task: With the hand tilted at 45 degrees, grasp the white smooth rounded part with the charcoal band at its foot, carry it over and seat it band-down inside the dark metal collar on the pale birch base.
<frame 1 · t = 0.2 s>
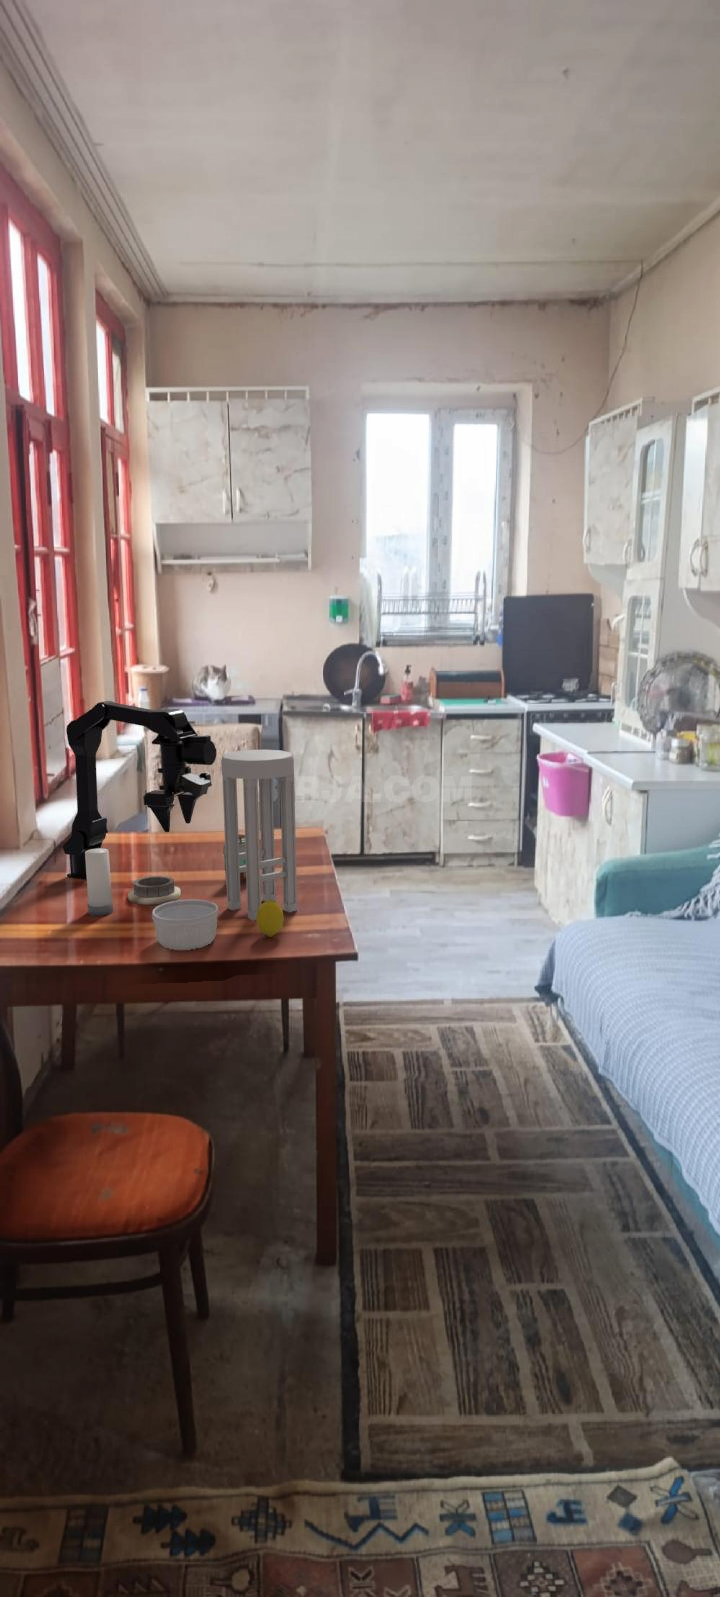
hand: (177, 827, 237), 15 cm above the table, tool pointing down, fingers open, 9 cm apart
lemon: (270, 938, 203), on the table
food container: (244, 880, 245), on the table
ramekin: (186, 942, 201), on the table
white smooth rounded part: (100, 912, 220), on the table
stool: (262, 910, 221), on the table
socket: (154, 896, 231), on the table
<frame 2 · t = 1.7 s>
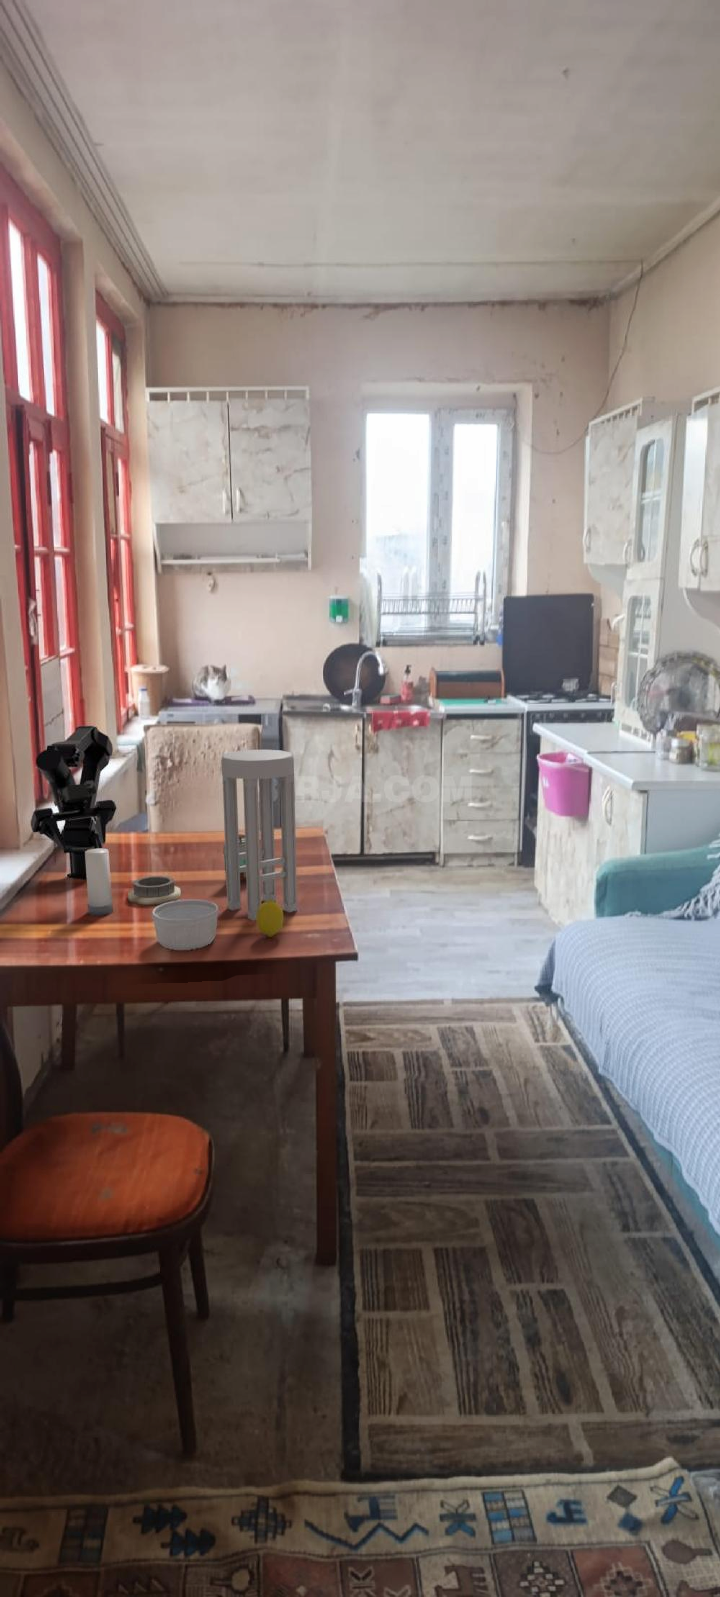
hand: (84, 846, 224), 13 cm above the table, tool tilted 45°, fingers open, 9 cm apart
nothing on the table moved.
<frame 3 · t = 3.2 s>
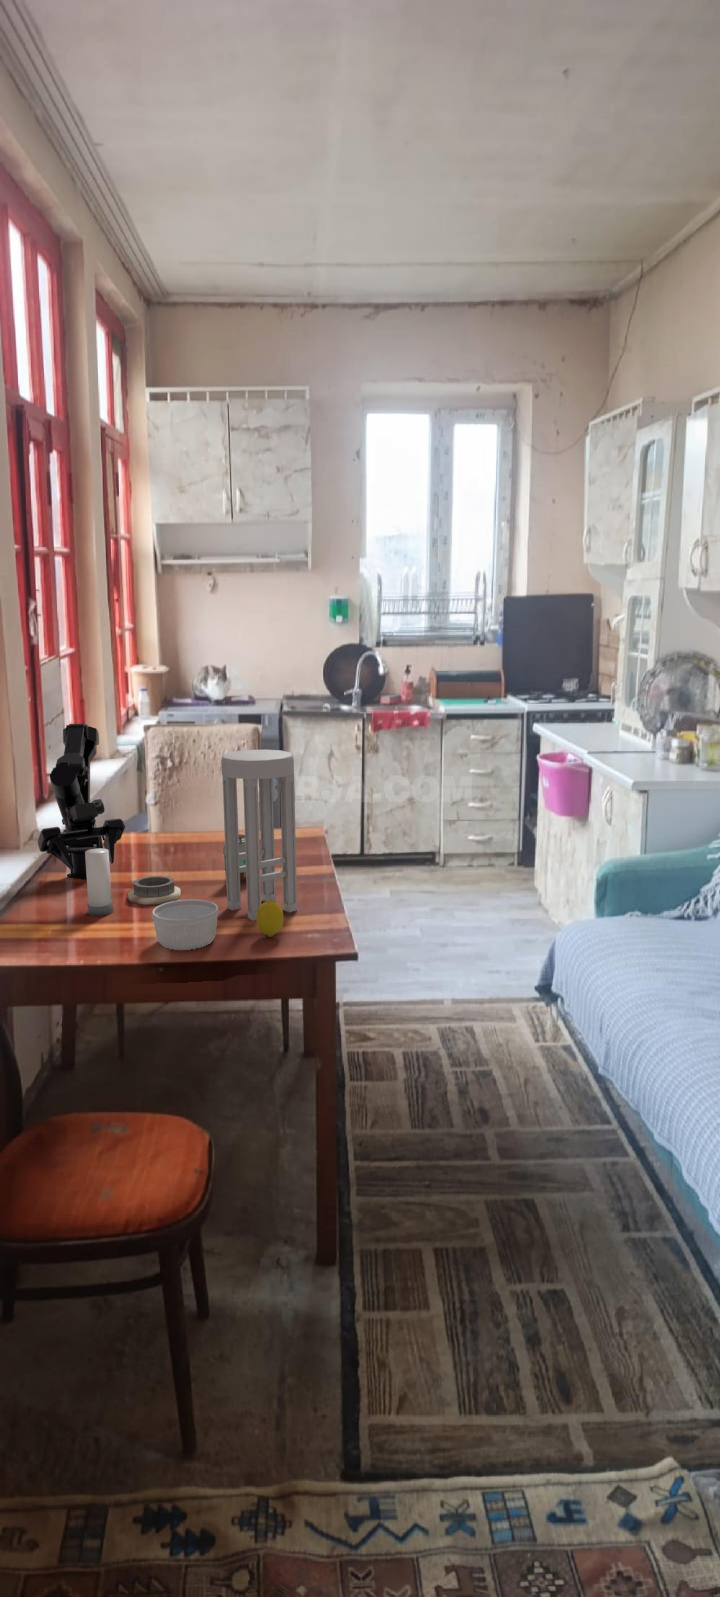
hand: (92, 865, 221), 10 cm above the table, tool tilted 45°, fingers open, 9 cm apart
nothing on the table moved.
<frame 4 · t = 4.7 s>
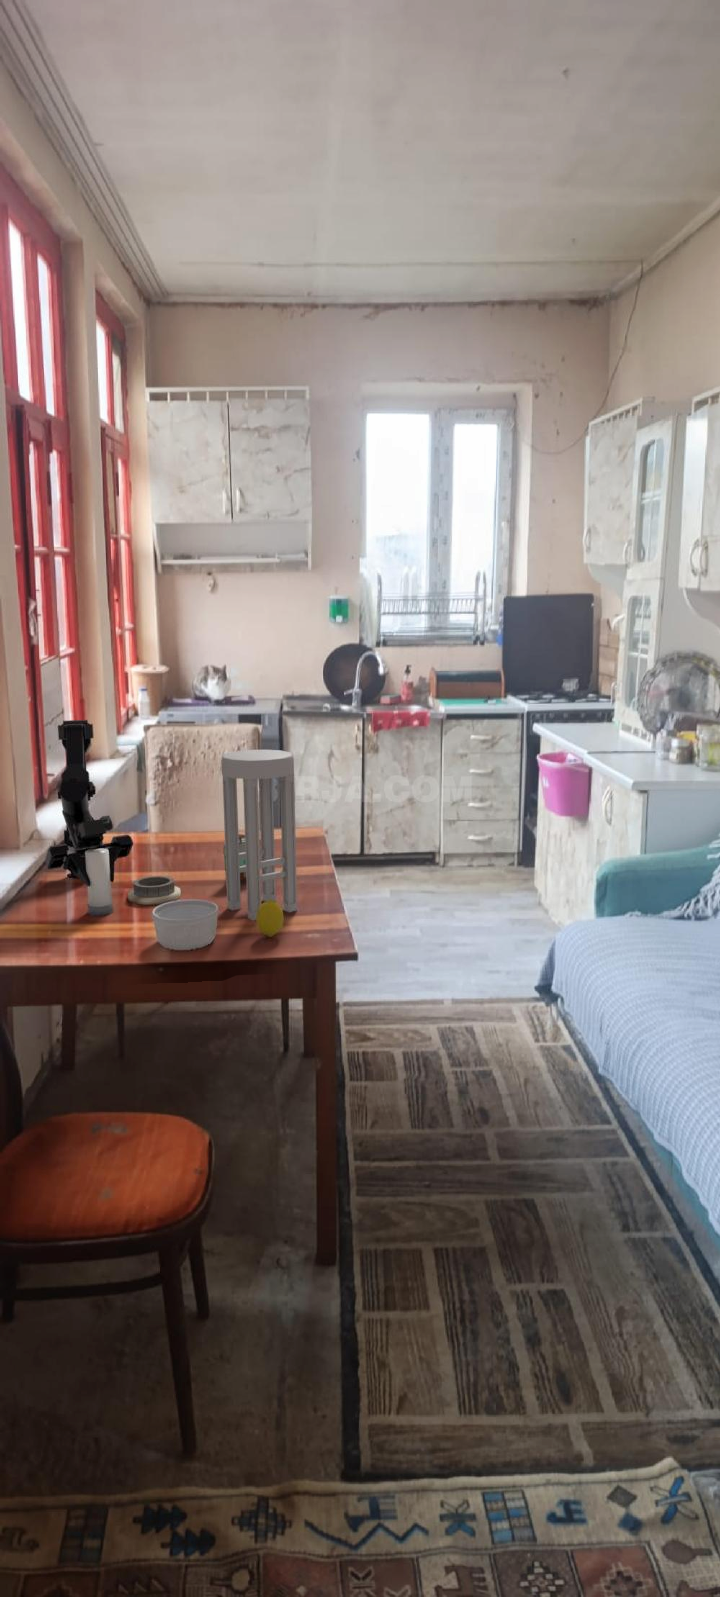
hand: (101, 883, 218), 7 cm above the table, tool tilted 45°, fingers closed on white smooth rounded part, 5 cm apart
white smooth rounded part: (100, 912, 220), on the table, touching gripper
everything else where it was.
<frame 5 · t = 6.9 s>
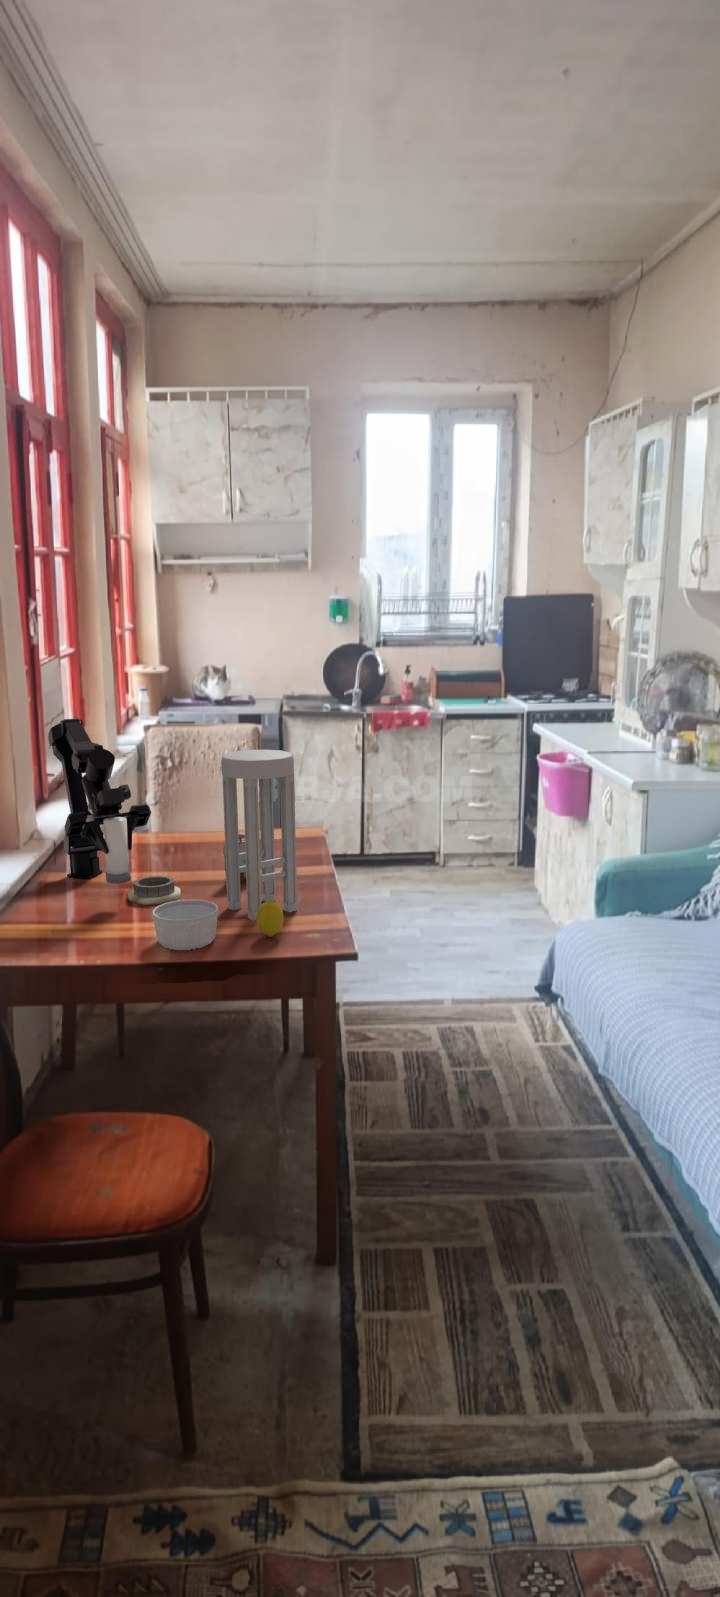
hand: (119, 851, 221), 13 cm above the table, tool tilted 45°, fingers closed on white smooth rounded part, 5 cm apart
white smooth rounded part: (118, 879, 223), point 6 cm above the table, touching gripper
everything else where it was.
when the fingers open (10 cm above the table, at t = 8.9 s): white smooth rounded part drops 1 cm, resting on socket.
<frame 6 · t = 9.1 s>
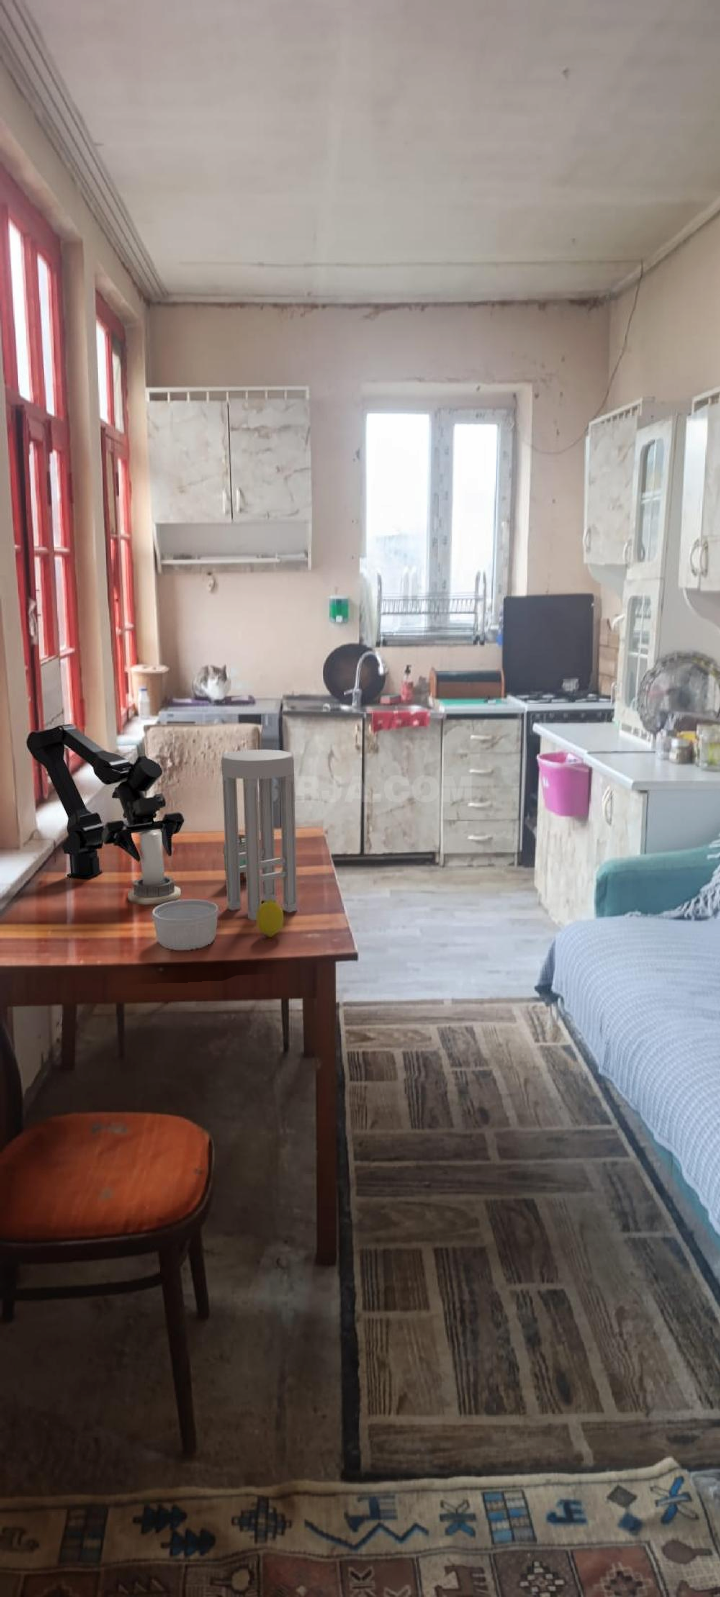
hand: (155, 857, 228), 10 cm above the table, tool tilted 45°, fingers open, 7 cm apart
white smooth rounded part: (154, 891, 231), point 1 cm above the table, touching socket
everything else where it was.
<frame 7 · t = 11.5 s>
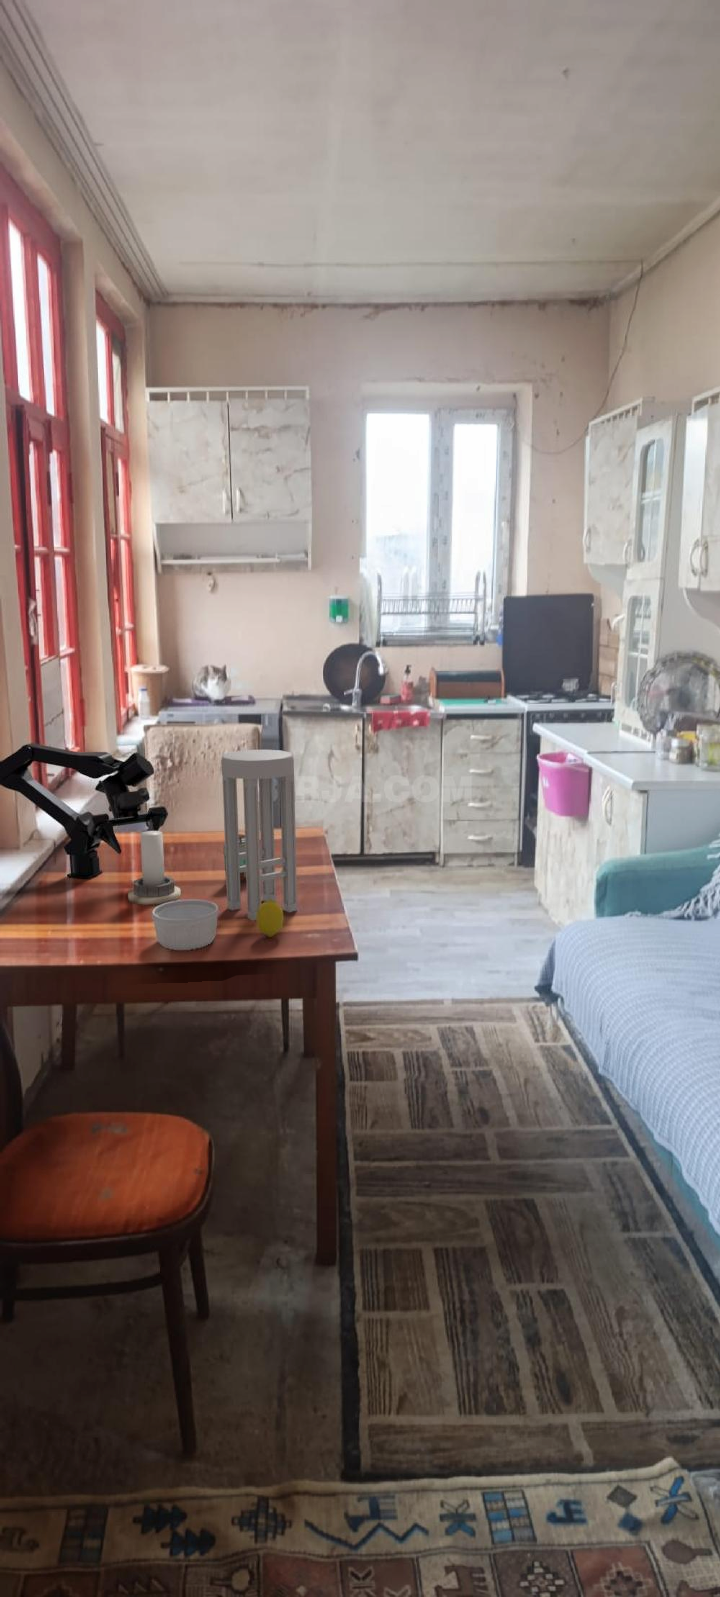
hand: (138, 850, 236), 10 cm above the table, tool tilted 45°, fingers open, 9 cm apart
nothing on the table moved.
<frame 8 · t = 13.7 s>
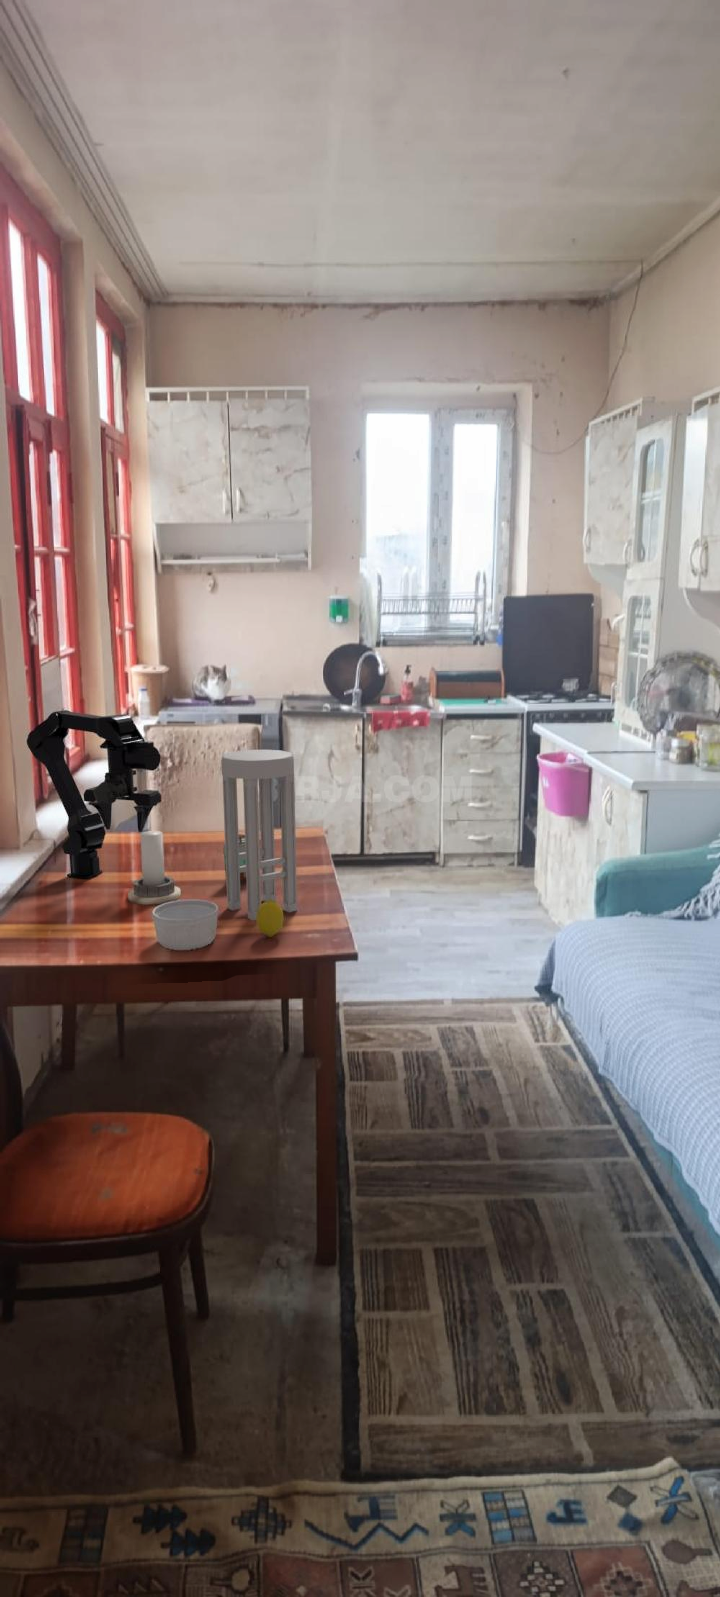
hand: (124, 830, 241), 13 cm above the table, tool pointing down, fingers open, 9 cm apart
nothing on the table moved.
at the end: white smooth rounded part 0.1 cm off-centre on the socket, point 1.2 cm above the socket's base; white smooth rounded part tilted 0°; the gripper is holding nothing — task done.
